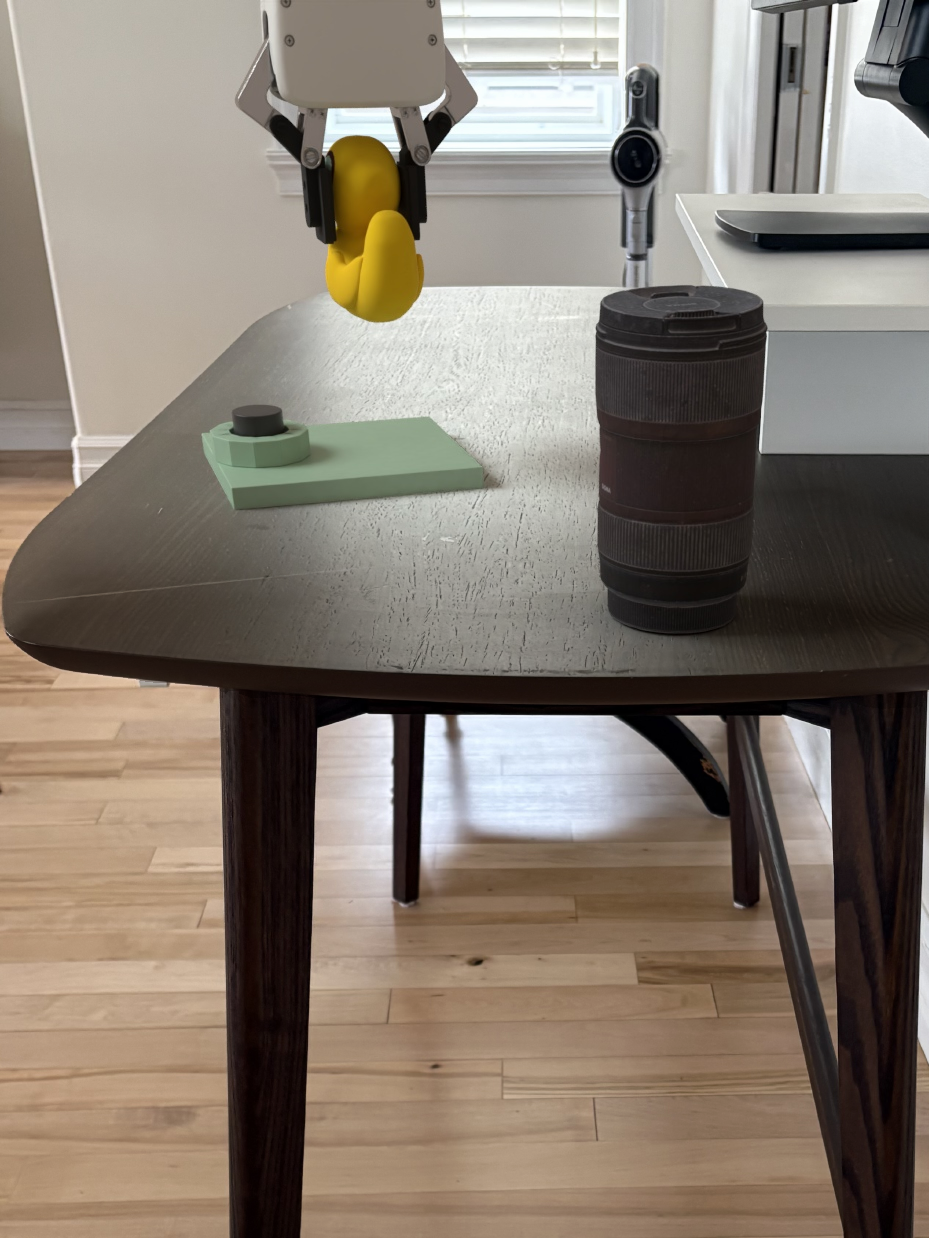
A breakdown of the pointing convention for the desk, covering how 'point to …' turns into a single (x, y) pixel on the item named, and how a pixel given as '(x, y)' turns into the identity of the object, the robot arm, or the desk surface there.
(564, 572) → the desk surface
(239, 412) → the button
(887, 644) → the desk surface
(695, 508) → the camera lens
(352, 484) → the scale
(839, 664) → the desk surface
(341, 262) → the duckling
